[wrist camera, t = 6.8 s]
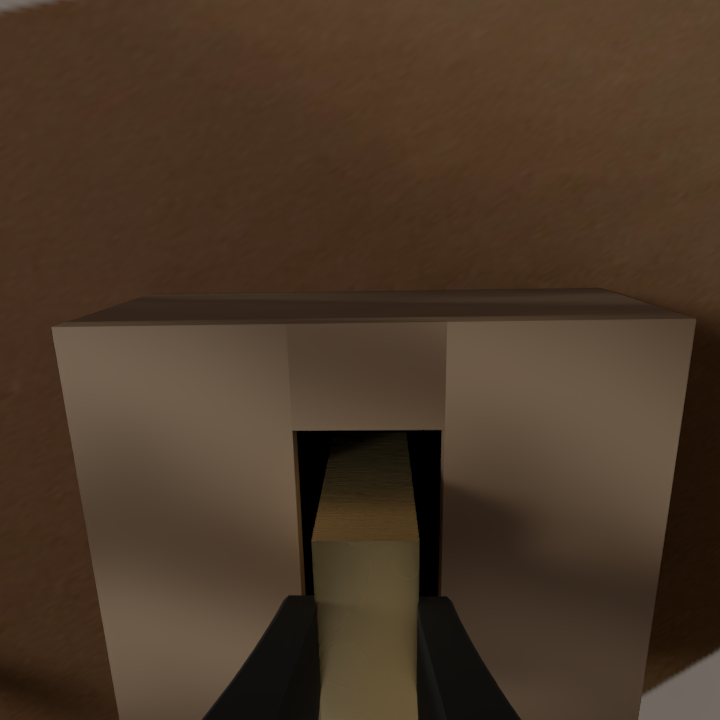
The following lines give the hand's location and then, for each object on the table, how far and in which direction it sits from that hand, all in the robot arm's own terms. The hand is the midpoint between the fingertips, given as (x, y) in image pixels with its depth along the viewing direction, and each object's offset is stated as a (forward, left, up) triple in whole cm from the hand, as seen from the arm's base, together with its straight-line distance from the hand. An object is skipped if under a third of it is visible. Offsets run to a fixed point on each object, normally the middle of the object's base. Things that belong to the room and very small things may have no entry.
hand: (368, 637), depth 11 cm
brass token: (0, 0, -5) cm, 5 cm away
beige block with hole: (0, 0, -8) cm, 8 cm away
